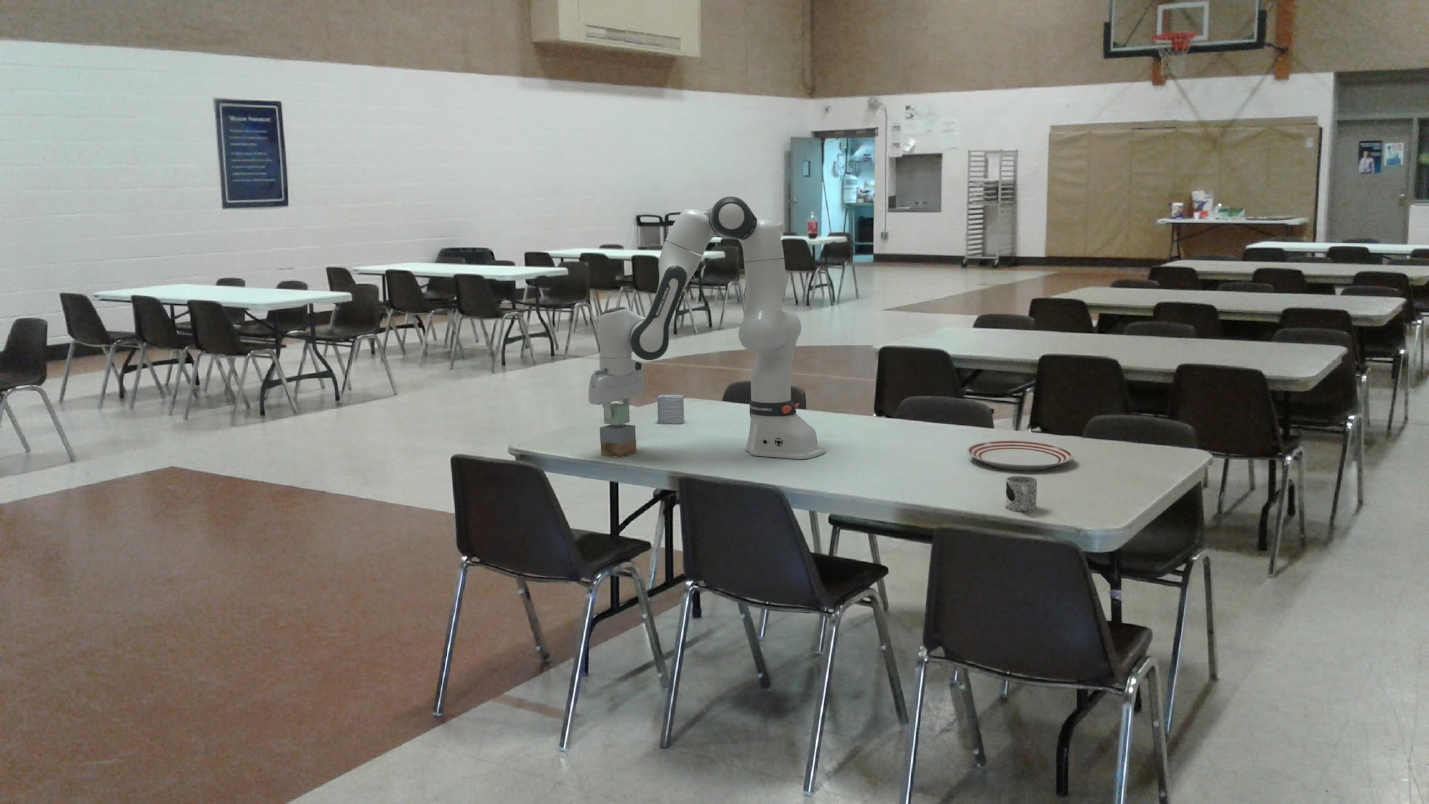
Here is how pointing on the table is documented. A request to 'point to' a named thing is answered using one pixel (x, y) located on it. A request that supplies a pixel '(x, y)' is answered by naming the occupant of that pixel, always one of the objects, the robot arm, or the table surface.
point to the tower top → (617, 433)
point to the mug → (1021, 493)
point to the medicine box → (670, 409)
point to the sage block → (618, 414)
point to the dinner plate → (1020, 454)
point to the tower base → (618, 448)
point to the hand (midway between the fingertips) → (617, 416)
